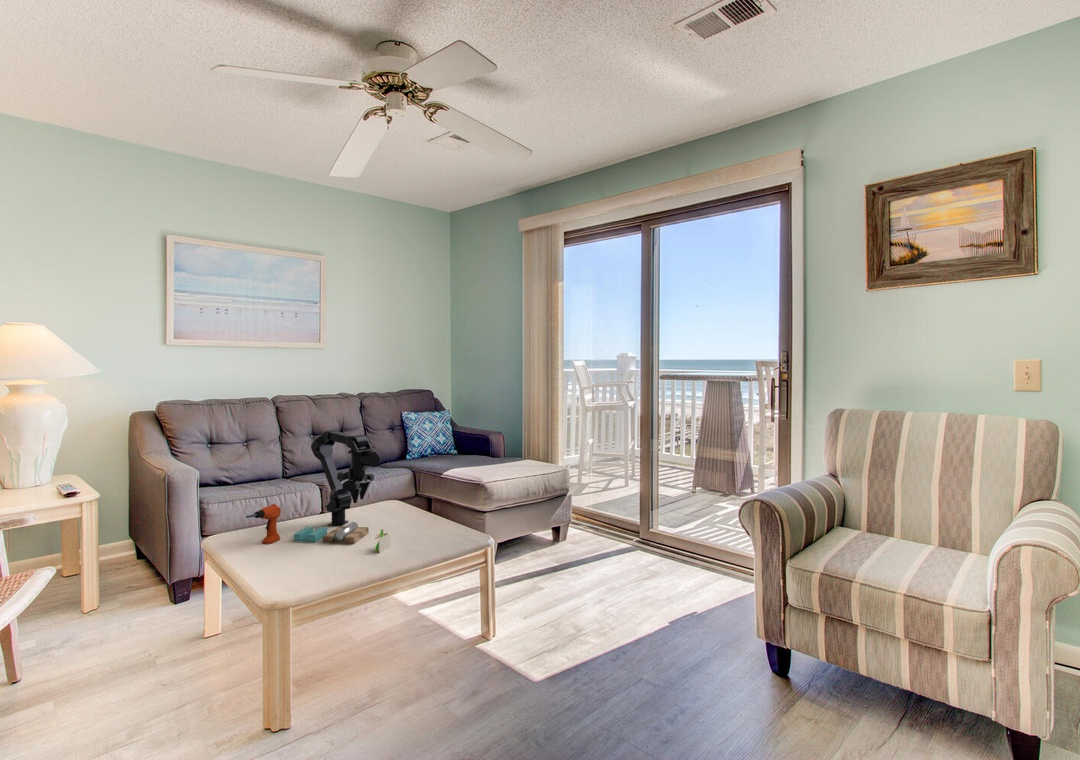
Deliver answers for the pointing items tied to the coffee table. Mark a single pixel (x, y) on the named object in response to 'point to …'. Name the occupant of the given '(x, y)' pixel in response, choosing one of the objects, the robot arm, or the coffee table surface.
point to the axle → (345, 531)
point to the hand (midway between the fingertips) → (358, 501)
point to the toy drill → (269, 522)
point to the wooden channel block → (350, 538)
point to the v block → (310, 534)
